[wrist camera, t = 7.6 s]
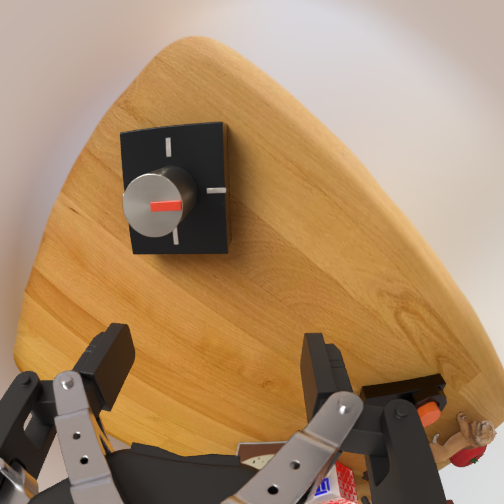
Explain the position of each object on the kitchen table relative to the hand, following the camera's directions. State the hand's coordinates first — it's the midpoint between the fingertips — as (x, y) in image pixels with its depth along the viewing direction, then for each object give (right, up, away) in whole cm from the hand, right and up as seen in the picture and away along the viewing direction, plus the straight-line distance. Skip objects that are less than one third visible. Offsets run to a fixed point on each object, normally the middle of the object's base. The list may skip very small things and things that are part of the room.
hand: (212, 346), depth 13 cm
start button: (+24, -17, +17) cm, 34 cm away
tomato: (+45, -33, +28) cm, 62 cm away
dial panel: (-4, +10, +12) cm, 16 cm away
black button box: (+21, -17, +22) cm, 35 cm away
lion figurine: (+37, -26, +25) cm, 51 cm away
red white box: (+15, -36, +29) cm, 48 cm away
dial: (-4, +9, +9) cm, 13 cm away
